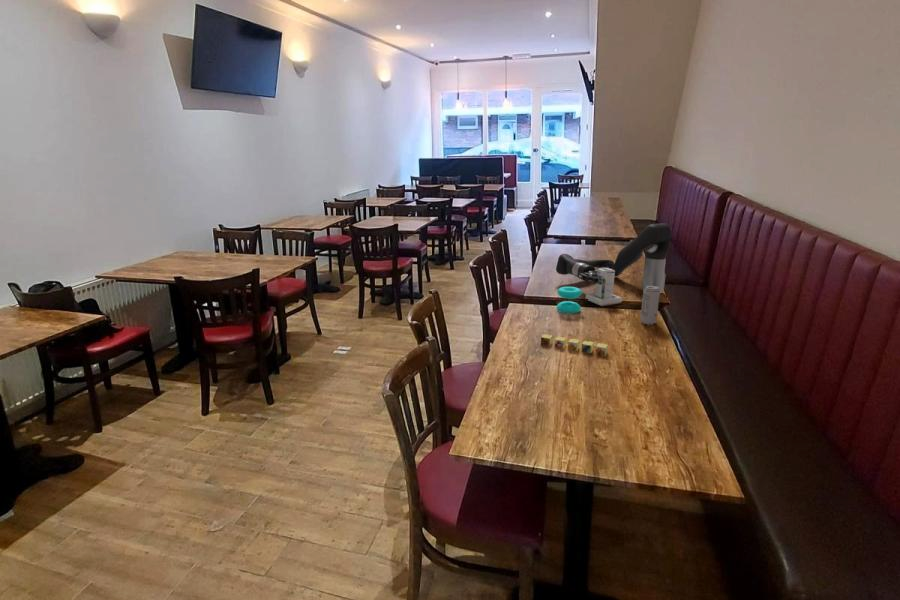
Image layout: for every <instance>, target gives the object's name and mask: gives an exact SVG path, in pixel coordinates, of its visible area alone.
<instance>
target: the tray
mask: <svg viewBox="0 0 900 600" xmlns="http://www.w3.org/2000/svg"><path fill="white" fill-rule="evenodd" d="M595 293H596V292H593V293H586V294H585V299H586V298H587V299H588V300H587V301H589V302H591V303H592V304H593V303H594V304H596V305H598V306H600V307H604V306H610V305H616V304H617V305H618V304H622V300H623V297H621V296H619V295H616V294H613V297H612V298H610V299H603V300H602V299H599V298H597V297H595Z"/></svg>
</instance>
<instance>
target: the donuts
mask: <svg viewBox="0 0 900 600" xmlns="http://www.w3.org/2000/svg"><path fill="white" fill-rule="evenodd" d="M582 293H583V292H582V290H581V289H580V288H578V287H577V286H576V287H575V286H562V287H559V288H558V290H557V294H558V296H559V297H561V298H563V299H568V300H564V301H561V302H558V304H557V306H556V309H557V311H558V312H560V313H562V312H563V314H566V313H574V314H577V312H578V313H579V312H580V311H581V305H580V304H578V302H576V301H575V302H574V301H570V300H571V299H577V298H580V297H581V296H582Z"/></svg>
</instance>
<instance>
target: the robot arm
mask: <svg viewBox="0 0 900 600" xmlns="http://www.w3.org/2000/svg"><path fill="white" fill-rule="evenodd" d="M671 239H672V229H671V227H670V225H669V224H668V223H664V222H662V223H652V224H648V225H647V226H646V227H645V228H644V229H643V230H642V231H641V232H640V233H639V234H638V235H637V236H636V237H635V238H634V239H632V240H631V241H629V243H628V244H626V245H625V246H624V247H623V248H621V250H620V251H619V252H618V254H617V256H616V258H615V262H614V261H613V260H612V259H595V260H588V259H587V260H585V259H578V258H574V257H573V256H572V255H570V254H567V253H561V254H560V255H559V256H558V258H557V263H556V267H555V271H556V273H557V274H559V275H564V276H565V275H572V276H574V277H576V278H578V279H579V280H582V281H584V282H594V283H595V284H596V283H597V282H598V278H597V271H598V269H599V268H609V269H612V270H615V276H618V275H619V276H620V275H621V274H622V273H624V271H625V270H627V269H628V268H629V267H630V266H632V265H633V264H635V263H637V262H638V261H639V260H640V259H641V258H642V256H643V255H644V254H645V256H644V261H643V262H644V264H643V265H644V266H643V272H642V273H643V275H642V281H641V282H642V284H641V291H642V290H643V291H644V289H645V288H646V286H657V287H659V291H660V292H662V291H663V292H664V291H665V281H666V277H667V275H666V273H665V270H666V269H665V268H666V260H667V255H668V253H669V251H670V246H671V241H672V240H671ZM651 245H653V246H652V247H650V248H648V247H649V246H651ZM646 248H648V249H647V250H646V251H645V253H644V250H645V249H646ZM643 253H644V254H643ZM596 268H597V269H596ZM619 276H618V277H619ZM664 293H665V292H664Z"/></svg>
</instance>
